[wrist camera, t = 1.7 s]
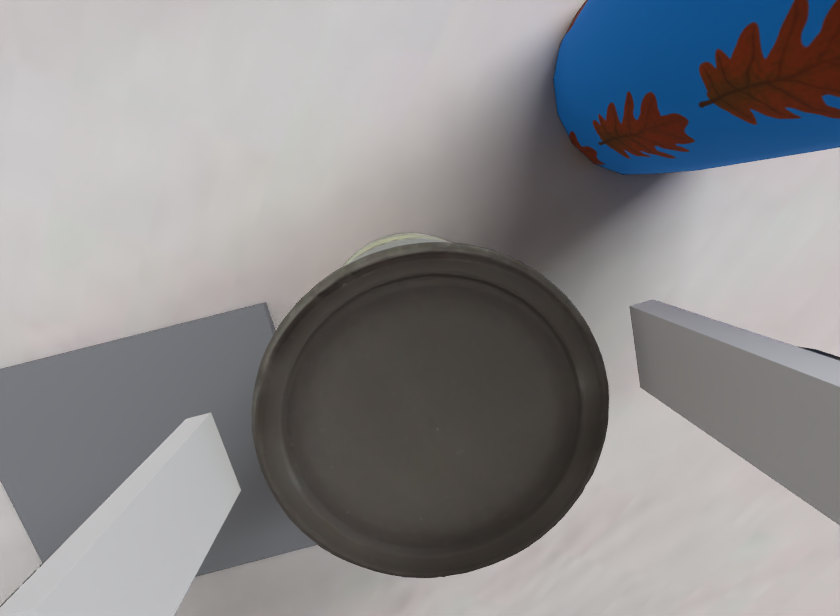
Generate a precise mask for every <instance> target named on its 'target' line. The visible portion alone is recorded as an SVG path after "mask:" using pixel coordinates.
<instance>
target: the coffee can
mask: <svg viewBox="0 0 840 616" xmlns="http://www.w3.org/2000/svg"><path fill="white" fill-rule="evenodd" d="M608 409H609V390H608V381H607V376H606V371H605V366H604V362H603V359H602V355H601V353H600V350H599V348H598V345H597V343H596V341H595V338H594V336H593V334H592V332H591V330H590V328H589V326H588V325H587V323H586V321H585V320H584V318H583V317H582V315H581V314H580V312H579V311H578V310H577V308H576V307H575V306H574V305H573V303H572V302H571V301H570V300H569V299H568V298H567V296H566V295H565V294H564V293H563V292H562V291H560V290H559V289H558V288H557V287H556V286H555V285H554V284H552V283H551V282H550V281H549V280H548V279H546V278H545V277H544V276H542V275H541V274H539V273H538V272H537V271H535V270H533V269H532V268H530V267H528V266H526V265H525V264H523V263H521V262H519V261H517V260H515V259H513V258H511V257H508V256H506V255H504V254H501V253H499V252H496V251H493V250H490V249H486V248H482V247H477V246H472V245H467V244H461V243H451V242H449V241H446V240H444V239H441V238H438V237H435V236H432V235H427V234H420V233H402V234H395V235H390V236H386V237H383V238H381V239H378V240H376V241H374V242H372V243H370V244H368V245H366V246H365V247H363V248H362V249H360V250H359V251H357V252H356V253H355V254H354V255H353V256H352V257H351V258H350V259H349V260H348V261H347V262H346V263H345V264H344V266H343V267H342V268H340V269H338V270H337V271H335V272H333V273H332V274H330V275H329V276H328V277H326V278H325V279H324V280H322V281H321V282H319V283H318V284H317V285H316V286H315V287H314V288H312V289H311V290H310V291H309V292H308V293H307V294H306V295H305V296H304V297H303V298H302V299H301V300H300V301H299V302H298V303H297V304H296V305H295V306H294V307H293V309H292V310H291V311H290V312H289V313H288V315H287V316H286V317H285V318H284V320H283V321H282V322H281V324H280V325H279V327H278V328H277V330H276V331H275V333H274V335H273V337H272V338H271V340H270V342H269V344H268V346H267V348H266V350H265V353H264V355H263V357H262V360H261V363H260V366H259V370H258V374H257V378H256V382H255V386H254V391H253V398H252V411H251V418H252V434H253V440H254V445H255V450H256V454H257V458H258V462H259V465H260V468H261V471H262V473H263V475H264V478H265V480H266V482H267V485H268V487H269V489H270V490H271V492H272V493H273V495H274V497H275V499H276V501H277V502H278V503H279V505H280V506H281V508H282V509H283V511H284V512H285V513H286V515H287V516H288V518H289V519H290V520H291V521H292V522H293V523H294V524H295V525H296V526H297V527H298V528H299V529H300V530H301V531H302V532H303V533H304V534H305V535H307V536H308V537H309V538H310V539H311V540H313V541H314V542H315V543H316V544H318V545H319V546H320V547H322V548H323V549H325V550H327V551H328V552H330V553H332V554H333V555H335V556H337V557H339V558H341V559H343V560H346V561H348V562H350V563H353V564H355V565H358V566H361V567H364V568H367V569H370V570H373V571H376V572H380V573H385V574H389V575H395V576H401V577H414V578H436V577H446V576H449V575H455V574H462V573H467V572H470V571H474V570H477V569H480V568H483V567H486V566H489V565H492V564H494V563H497V562H499V561H502V560H504V559H506V558H508V557H510V556H513V555H515V554H517V553H518V552H520V551H522V550H524V549H525V548H527V547H529V546H530V545H531V544H533V543H534V542H535V541H537V540H538V539H540V538H541V537H542V536H543V535H545V534H546V533H547V532H548V531H549V530H550V529H551V528H553V527H554V526H555V525H556V524H557V523H558V522H559V521H560V520H561V519H562V518H563V517H564V516H565V514H566V513H567V512H568V511H569V509H570V508H571V507H572V506H573V504H574V503H575V502H576V500H577V499H578V498H579V496H580V495H581V494H582V492H583V490H584V488H585V486H586V484H587V483H588V481H589V480H590V478H591V476H592V475H593V472H594V470H595V468H596V465H597V463H598V460H599V457H600V454H601V451H602V448H603V444H604V441H605V437H606V431H607V425H608Z"/></svg>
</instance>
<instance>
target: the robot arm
mask: <svg viewBox="0 0 840 616" xmlns="http://www.w3.org/2000/svg"><path fill="white" fill-rule="evenodd" d="M630 313H631V321H632V328H633V336H634V343H635V351H636V358H637V366H638V373H639V381H640V387H641V388H642V389H644V390H645V391H647V392H648V393H649V394H651V395H652V396H654V397H655V398H657V399H658V400H660V401H661V402H662V403H664V404H665V405H667V406H668V407H670V408H671V409H673V410H674V411H675V412H677V413H678V414H680V415H681V416H683V417H684V418H686V419H687V420H688V421H690V422H691V423H693V424H694V425H696V426H697V427H699V428H700V429H701V430H703V431H704V432H706V433H707V434H709V435H710V436H712V437H713V438H714V439H716V440H717V441H719V442H720V443H722V444H723V445H725V446H726V447H727V448H729V449H730V450H732V451H733V452H735V453H736V454H737V455H739V456H740V457H742V458H743V459H745V460H746V461H748V462H749V463H750V464H752V465H753V466H755V467H756V468H758V469H759V470H761V471H762V472H763V473H765V474H766V475H768V476H769V477H771V478H772V479H774V480H775V481H776V482H778V483H779V484H781V485H782V486H784V487H785V488H787V489H788V490H789V491H791V492H792V493H794V494H795V495H797V496H798V497H800V498H801V499H802V500H804V501H805V502H807V503H808V504H810V505H811V506H813V507H814V508H815V509H817V510H818V511H820V512H821V513H823V514H824V515H826V516H827V517H828V518H830V519H831V520H833V521H834V522H836V523H837V524H839V525H840V357H838V356H834V355H831V354H828V353H825V352H822V351H819V350H816V349H810V348H803V347H797V346H793V345H790V344H787V343H784V342H781V341H778V340H775V339H772V338H769V337H766V336H763V335H760V334H757V333H754V332H750V331H747V330H744V329H741V328H738V327H735V326H732V325H729V324H726V323H723V322H720V321H717V320H714V319H711V318H708V317H705V316H702V315H699V314H696V313H692V312H689V311H686V310H683V309H680V308H677V307H674V306H671V305H668V304H665V303H662V302H659V301H656V300H651V301H647V302H643V303H639V304H635V305H631V306H630ZM240 491H241V489H240V486H239V483H238V481H237V478H236V476H235V473H234V470H233V468H232V465H231V463H230V460H229V458H228V455H227V452H226V450H225V447H224V445H223V442H222V439H221V437H220V434H219V432H218V429H217V426H216V424H215V421H214V419H213V416H212V414H211V413H207V414H203V415H199V416H195V417H191V418H187V419H185V420H184V422H183V423H182V424H181V425H180V426H179V427H178V428H177V429H176V430H175V431H174V432H173V433H172V434H171V435H170V436H169V437H168V438H167V439H166V440H165V441H164V442H163V443H162V444H161V445H160V446H159V447H158V448H157V449H156V450H155V451H154V452H153V453H152V454H151V455H150V456H149V457H148V458H147V459H146V460H145V461H144V462H143V463H142V464H141V465H140V466H139V467H138V468H137V469H136V470H135V471H134V472H133V473H132V474H131V475H130V476H129V477H128V478H127V479H126V480H125V481H124V482H123V483H122V484H121V485H120V486H119V487H118V488H117V489H116V490H115V491H114V492H113V494H112V495H111V496H110V497H109V498H108V499H107V500H106V501H105V502H104V503H103V504H102V505H101V506H100V507H99V508H98V509H97V510H96V511H95V512H94V513H93V514H92V515H91V516H90V517H89V518H88V519H87V520H86V521H85V522H84V523H83V524H82V525H81V526H80V527H79V528H78V529H77V530H76V531H75V532H74V533H73V534H72V535H71V536H70V537H69V538H68V539H67V540H66V541H65V542H64V543H63V544H62V545H60V546H59V547H58V548H57V549H56V550H55V551H54V552H53V553H52V554H51V555H50V556H49V557H48V558H47V559H46V560H45V561H44V562H43V563H42V564H41V565H40V568H39V569H38V570H35V571H34V573H33V574H32V575H31V576H30V577H29V578H28V579H27V580H26V581H25V582H24V583H23V585H22V586H21V587H20V588H18V589H17V590H16V591H15V592H14V593H13V594H12V595H11V596H10V597H9V598H8V599H7V600H6V601H5V602H4V603H3V604H2V605H1V606H0V616H174V615H175V613H176V611H177V609H178V607H179V606H180V604H181V602H182V600H183V598H184V596H185V594H186V592H187V591H188V589H189V587H190V585H191V583H192V581H193V579H194V577H195V576H196V574H197V572H198V570H199V568H200V566H201V564H202V562H203V561H204V559H205V557H206V555H207V553H208V551H209V549H210V547H211V546H212V544H213V542H214V540H215V538H216V536H217V534H218V532H219V531H220V529H221V527H222V525H223V523H224V521H225V519H226V517H227V516H228V514H229V512H230V510H231V508H232V506H233V504H234V503H235V501H236V499H237V497H238V495H239V493H240Z"/></svg>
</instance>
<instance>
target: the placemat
mask: <svg viewBox="0 0 840 616" xmlns="http://www.w3.org/2000/svg"><path fill="white" fill-rule="evenodd" d="M274 333H275V328H274V325H273V322H272V319H271V316H270V313H269V310H268V307H267V304H266V302H265V303H261V304H257V305H253V306H249V307H245V308H241V309H237V310H233V311H229V312H225V313H221V314H217V315H213V316H209V317H205V318H201V319H197V320H193V321H189V322H185V323H181V324H177V325H174V326H170V327H166V328H162V329H158V330H154V331H150V332H146V333H142V334H138V335H134V336H130V337H126V338H122V339H118V340H114V341H110V342H106V343H102V344H98V345H94V346H90V347H86V348H82V349H78V350H74V351H70V352H66V353H62V354H58V355H54V356H50V357H46V358H42V359H38V360H34V361H30V362H26V363H22V364H18V365H14V366H10V367H6V368H2V369H0V480H1V482H2V484H3V486H4V488H5V490H6V492H7V494H8V496H9V498H10V500H11V502H12V504H13V506H14V508H15V510H16V512H17V514H18V516H19V518H20V520H21V522H22V524H23V526H24V527H25V529H26V531H27V533H28V535H29V537H30V539H31V541H32V543H33V545H34V547H35V549H36V551H37V553H38V555H39V557H40V559H41V561H42V563H43V562H44V561H45V560H46V559H47V558H48V557H49V556H50V555H51V554H52V553H53V552H54V551H55V550H56V549H57V548H58V547H59V546H60V545H62V544H63V543H64V542H65V541H66V540H67V539H68V538H69V537H70V536H71V535H72V534H73V533H74V532H75V531H76V530H77V529H78V528H79V527H80V526H81V525H82V524H83V523H84V522H85V521H86V520H87V519H88V518H89V517H90V516H91V515H92V514H93V513H94V512H95V511H96V510H97V509H98V508H99V507H100V506H101V505H102V504H103V503H104V502H105V501H106V500H107V499H108V498H109V497H110V496H111V495H112V494H113V492H114V491H115V490H116V489H117V488H118V487H119V486H120V485H121V484H122V483H123V482H124V481H125V480H126V479H127V478H128V477H129V476H130V475H131V474H132V473H133V472H134V471H135V470H136V469H137V468H138V467H139V466H140V465H141V464H142V463H143V462H144V461H145V460H146V459H147V458H148V457H149V456H150V455H151V454H152V453H153V452H154V451H155V450H156V449H157V448H158V447H159V446H160V445H161V444H162V443H163V442H164V441H165V440H166V439H167V438H168V437H169V436H170V435H171V434H172V433H173V432H174V431H175V430H176V429H177V428H178V427H179V426H180V425H181V424H182V423H183V422H184V420H185V419H187V418H191V417H195V416H199V415H203V414H207V413H211V414H212V416H213V419H214V421H215V424H216V426H217V429H218V432H219V434H220V437H221V439H222V442H223V445H224V447H225V450H226V452H227V455H228V458H229V460H230V463H231V465H232V468H233V470H234V473H235V476H236V478H237V481H238V483H239V486H240V489H241V491H240V493H239V495H238V497H237V499H236V501H235V503H234V504H233V506H232V508H231V510H230V512H229V514H228V516H227V517H226V519H225V521H224V523H223V525H222V527H221V529H220V531H219V532H218V534H217V536H216V538H215V540H214V542H213V544H212V546H211V547H210V549H209V551H208V553H207V555H206V557H205V559H204V561H203V562H202V564H201V566H200V568H199V570H198V572H197V574H196V576H200V575H204V574H208V573H211V572H215V571H219V570H223V569H227V568H230V567H234V566H238V565H242V564H246V563H249V562H253V561H257V560H261V559H265V558H268V557H272V556H276V555H280V554H284V553H287V552H291V551H295V550H299V549H303V548H306V547H310V546H314V545H318V544H316V543H315V542H314V541H313V540H311V539H310V538H309V537H308V536H307V535H305V534H304V533H303V532H302V531H301V530H300V529H299V528H298V527H297V526H296V525H295V524H294V523H293V522H292V521H291V520H290V519H289V518H288V516H287V515H286V513H285V512H284V511H283V509H282V508H281V506H280V505H279V503H278V502H277V501H276V499H275V497H274V495H273V493H272V492H271V490H270V489H269V487H268V485H267V482H266V480H265V478H264V475H263V473H262V471H261V468H260V465H259V462H258V458H257V454H256V450H255V445H254V440H253V434H252V418H251V411H252V398H253V391H254V386H255V382H256V378H257V374H258V370H259V366H260V363H261V360H262V357H263V355H264V353H265V350H266V348H267V346H268V344H269V342H270V340H271V338H272V337H273V335H274ZM196 576H195V577H196Z"/></svg>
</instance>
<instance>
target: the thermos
mask: <svg viewBox="0 0 840 616" xmlns="http://www.w3.org/2000/svg"><path fill="white" fill-rule="evenodd" d="M553 81H554V88H555V96H556V104H557V112H558V115H559V117H560V119H561V121H562V123H563V125H564V128H565V130H566V132H567V134H568V136H569V138H570V140H571V142H572V143H573V144H574V145H575V146H576V147H577V148H578V149H579V150H580V151H581V152H582V153H583V154H585V155H586V156H587V157H588V158H589V159H590V160H591V161H592V162H593V163H594V164H596V165H599V166H601V167H604V168H607V169H609V170H612V171H615V172H617V173H620V174H656V173H669V172H681V171H694V170H702V169H708V168H715V167H721V166H727V165H733V164H739V163H746V162H752V161H758V160H764V159H770V158H776V157H783V156H789V155H795V154H801V153H807V152H813V151H820V150H826V149H832V148H838V147H840V0H586V1H585V3H584V4H583V5H582V7H581V8H580V9H579V11H578V12H577V14H576V16H575V18H574V19H573V21H572V23H571V25H570V27H569V29H568V30H567V32H566V34H565V36H564V38H563V40H562V41H561V43H560V47H559V53H558V58H557V63H556V68H555V74H554V79H553Z"/></svg>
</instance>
